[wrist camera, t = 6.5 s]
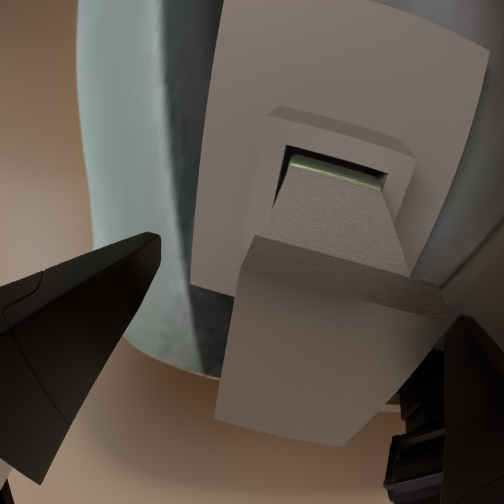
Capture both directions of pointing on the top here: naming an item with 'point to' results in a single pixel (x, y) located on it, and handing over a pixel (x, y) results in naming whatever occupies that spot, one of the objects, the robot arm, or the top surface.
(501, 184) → the top surface
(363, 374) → the grey-brown stepped block
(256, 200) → the jack stand base
